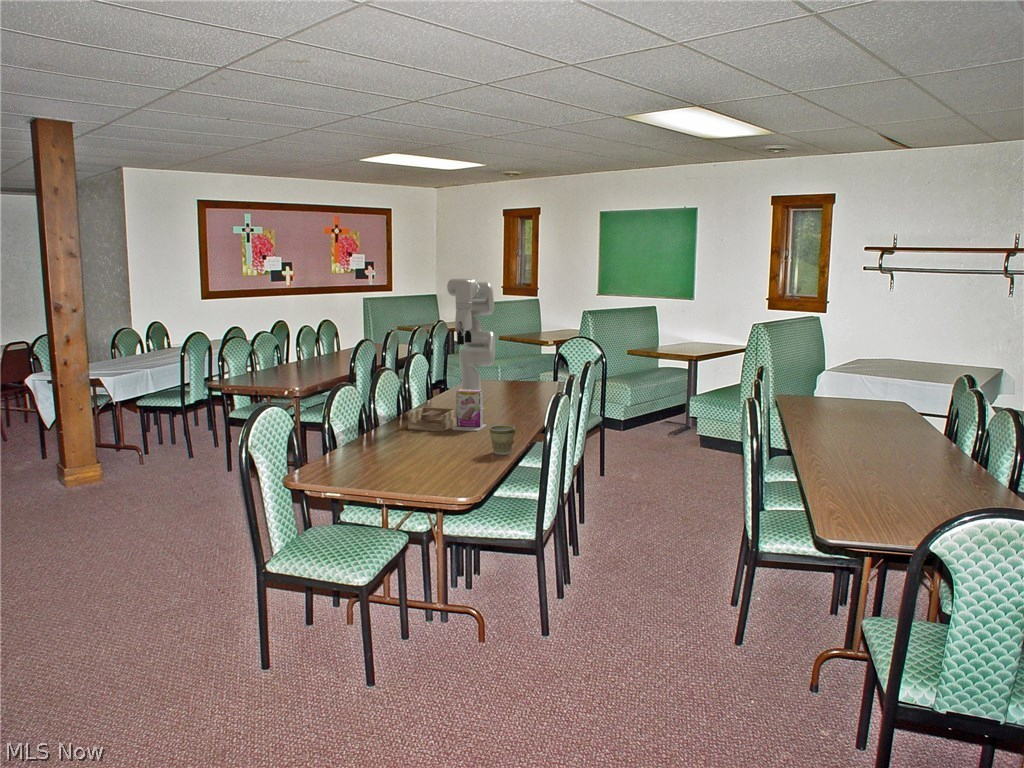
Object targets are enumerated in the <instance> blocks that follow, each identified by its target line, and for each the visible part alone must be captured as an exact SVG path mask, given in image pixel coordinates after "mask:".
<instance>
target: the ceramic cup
mask: <svg viewBox="0 0 1024 768" xmlns="http://www.w3.org/2000/svg"><path fill="white" fill-rule="evenodd" d="M488 429H489V434H490V439H491V444H492V450H493V454H494V455H498V456H499V455H501V456H506V455H510V454H511V453H512V447H513V445H514V444H515V443H516V442H517V440H518V439H520V438H521V437H523V435H524V433H523V431H522V429H516V426H513V425H510V424H509V425H508V424H506V425H505V424H499V425H492V426H489V428H488ZM518 432H520V433H521V435H520V436H518V437H517V438H516V439H515V440H514V437H515V435H516V433H518Z"/></svg>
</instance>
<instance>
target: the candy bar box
mask: <svg viewBox="0 0 1024 768" xmlns="http://www.w3.org/2000/svg"><path fill="white" fill-rule="evenodd" d="M483 393H484V392H483V389H481V390H464V389H462V388H460V389H458V390H456V409H457V424H456V426H460V427H481V426H482V425H483V424H484V423H483V422H484V421H483V419H484V418H483V417H484V416H483V415H484V412H483V411H484V410H483V407H484V406H483V405H484V403H483V402H484V401H483V400H484V398H483V395H484V394H483Z"/></svg>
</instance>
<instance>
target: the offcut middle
mask: <svg viewBox="0 0 1024 768" xmlns="http://www.w3.org/2000/svg"><path fill="white" fill-rule="evenodd" d="M416 423H429V424H441V417H440V418H437V419H434V420H432V421H427V420H421V417H419V418H417V419H416Z"/></svg>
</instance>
